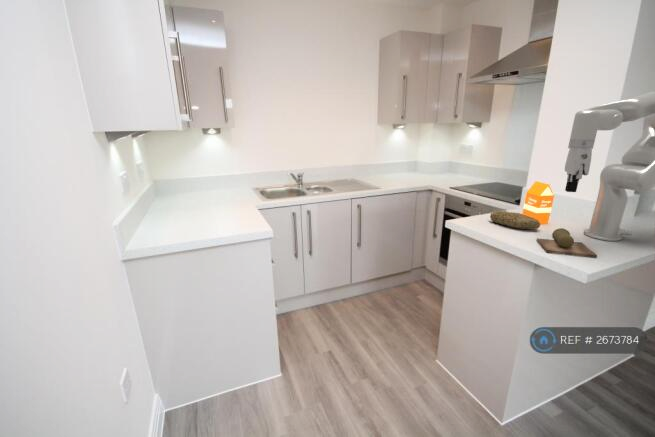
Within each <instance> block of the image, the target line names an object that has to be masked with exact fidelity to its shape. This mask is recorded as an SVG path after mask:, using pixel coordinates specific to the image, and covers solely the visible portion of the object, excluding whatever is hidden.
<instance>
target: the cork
mask: <svg viewBox="0 0 655 437" xmlns="http://www.w3.org/2000/svg"><path fill="white" fill-rule="evenodd" d="M551 237H552V240H556V241H557V242H558V244H559V245H560V246H561V247H564V248H568V247H571V246H572V245H573V244H574V242H575V239H574V237H572V236H571V233H570V232H569V230H567V229H566V228H564V227H563V228H562V227H560V228H557V229H554V231H552V234H551Z"/></svg>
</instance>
